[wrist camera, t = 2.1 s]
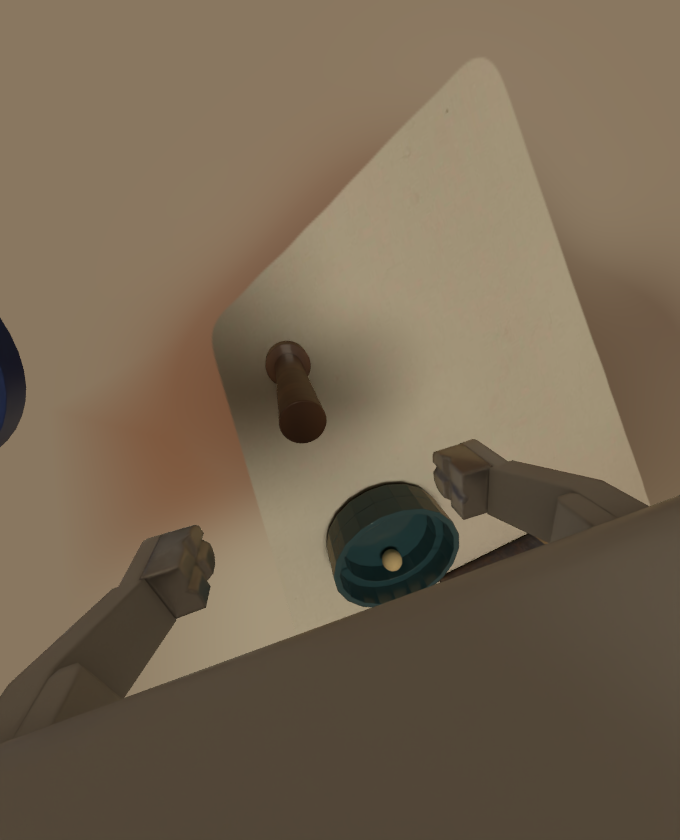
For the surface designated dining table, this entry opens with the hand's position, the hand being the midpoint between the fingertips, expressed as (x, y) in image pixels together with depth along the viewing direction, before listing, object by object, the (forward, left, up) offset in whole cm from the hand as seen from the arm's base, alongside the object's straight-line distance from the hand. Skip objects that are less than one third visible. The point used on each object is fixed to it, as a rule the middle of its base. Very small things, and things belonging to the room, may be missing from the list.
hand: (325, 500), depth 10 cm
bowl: (+7, -28, -23) cm, 36 cm away
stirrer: (0, 0, -23) cm, 23 cm away
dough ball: (+7, -32, -20) cm, 39 cm away
